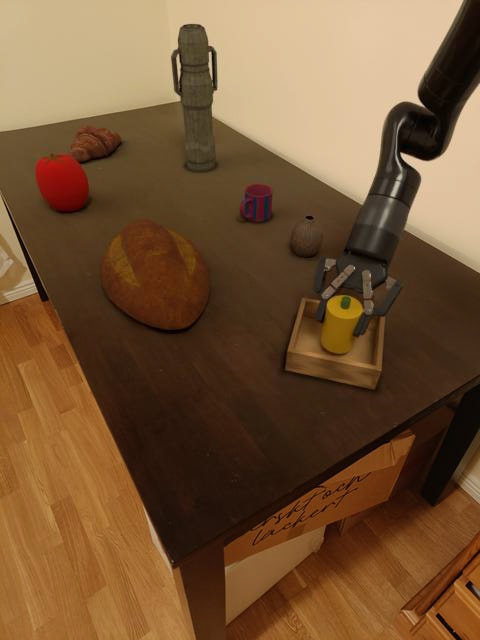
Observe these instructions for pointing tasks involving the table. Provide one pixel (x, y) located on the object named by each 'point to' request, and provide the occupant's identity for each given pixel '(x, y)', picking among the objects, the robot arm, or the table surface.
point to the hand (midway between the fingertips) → (337, 329)
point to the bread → (155, 275)
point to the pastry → (93, 143)
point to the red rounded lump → (62, 182)
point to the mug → (257, 203)
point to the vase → (307, 236)
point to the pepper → (340, 323)
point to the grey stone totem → (196, 94)
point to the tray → (346, 367)
